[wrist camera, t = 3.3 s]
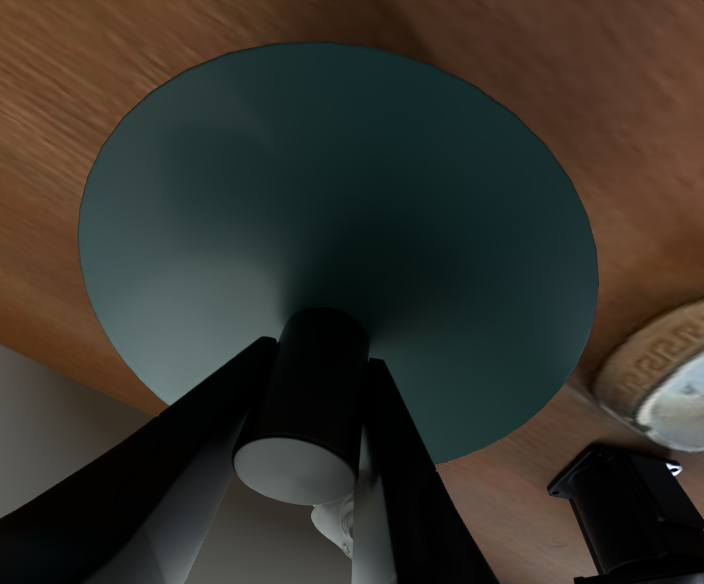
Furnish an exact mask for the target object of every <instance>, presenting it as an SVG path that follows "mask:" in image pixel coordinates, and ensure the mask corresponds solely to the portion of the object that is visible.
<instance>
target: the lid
mask: <svg viewBox="0 0 704 584" xmlns="http://www.w3.org/2000/svg"><path fill="white" fill-rule="evenodd" d="M78 246H79V257H80V266H81V270H82V275H83V279H84V283H85V287H86V291H87V294H88V296H89V299H90V301H91V304H92V306H93V309H94V311H95V314H96V316H97V318H98V320H99V322H100V324H101V326H102V328H103V329H104V331H105V333H106V335H107V337H108V338H109V340H110V342H111V343H112V345H113V346H114V347H115V349H116V350H117V352H118V353H119V354H120V356H121V357H122V359H123V360H124V361H125V363H126V364H127V365H128V366H129V367H130V368H131V369H132V371H133V372H134V373H135V374H136V375H137V376H138V378H139V379H140V380H141V381H142V382H143V383H144V384H145V385H146V386H147V387H149V388H150V389H151V390H152V391H153V392H154V393H155V394H156V395H157V396H158V397H159V398H160V399H162V400H163V401H164V402H165V403H167V404H168V405H169V406H170V405H172V404H173V403H174V402H176V401H177V400H178V399H180V398H181V397H182V396H183V395H185V394H186V393H187V392H189V391H190V390H191V389H193V388H194V387H195V386H197V385H198V384H199V383H201V382H202V381H203V380H204V379H206V378H207V377H208V376H210V375H211V374H212V373H214V372H215V371H216V370H218V369H219V368H220V367H221V366H223V365H224V364H225V363H227V362H228V361H229V360H231V359H232V358H233V357H235V356H236V355H237V354H238V353H240V352H241V351H242V350H244V349H245V348H246V347H248V346H249V345H250V344H252V343H253V342H254V341H255V340H257V339H258V338H259V337H261V336H268V337H273V338H275V339H276V340H277V345H276V347H275V350H274V352H273V355H272V357H271V359H270V362H269V364H268V367H267V369H266V371H265V374H264V376H263V379H262V381H261V383H260V386H259V388H258V391H257V393H256V395H255V398H254V400H253V403H252V405H251V407H250V410H249V412H248V415H247V417H246V419H245V422H244V424H243V427H242V429H241V431H240V434H239V436H238V439H237V441H236V443H235V446H234V448H233V451H232V456H231V462H232V467H233V469H234V471H235V472H236V474H237V476H238V477H239V478H240V479H241V480H242V481H243V482H244V483H245V484H247V485H248V486H249V487H251V488H252V489H254V490H256V491H257V492H259V493H261V494H263V495H266V496H268V497H271V498H273V499H277V500H280V501H284V502H288V503H295V504H302V505H320V504H327V503H332V502H335V501H338V500H341V499H343V498H345V497H346V496H348V495H349V494H350V493H351V492H352V491H353V490H354V488H355V486H356V484H357V481H358V475H359V463H360V452H361V440H362V428H363V417H364V403H365V391H366V380H367V368H368V361H369V359H370V358H377V359H382V360H384V361H385V363H386V365H387V367H388V369H389V371H390V373H391V375H392V377H393V379H394V381H395V384H396V386H397V388H398V390H399V392H400V394H401V396H402V398H403V400H404V402H405V405H406V407H407V409H408V411H409V413H410V415H411V417H412V419H413V421H414V423H415V426H416V428H417V430H418V432H419V434H420V436H421V438H422V440H423V442H424V444H425V446H426V449H427V451H428V453H429V455H430V457H431V459H432V461H433V463H434V465H435V464H440V463H443V462H446V461H450V460H453V459H456V458H459V457H462V456H465V455H467V454H470V453H472V452H475V451H477V450H479V449H482V448H484V447H486V446H488V445H490V444H492V443H494V442H496V441H497V440H499V439H501V438H503V437H505V436H506V435H508V434H509V433H511V432H512V431H514V430H515V429H517V428H518V427H520V426H521V425H523V424H524V423H526V422H527V421H528V420H529V419H530V418H531V417H533V416H534V415H535V414H536V413H537V412H538V411H540V410H541V409H542V408H543V407H544V406H545V405H546V404H547V403H548V402H549V401H550V399H551V398H552V397H553V396H554V395H555V394H556V393H557V392H558V391H559V390H560V388H561V387H562V386H563V384H564V383H565V381H566V380H567V378H568V377H569V375H570V374H571V372H572V371H573V369H574V368H575V367H576V365H577V362H578V360H579V358H580V356H581V354H582V352H583V350H584V348H585V346H586V344H587V342H588V338H589V335H590V331H591V328H592V324H593V321H594V317H595V314H596V305H597V296H598V287H599V277H598V264H597V250H596V246H595V242H594V238H593V234H592V230H591V227H590V223H589V219H588V215H587V213H586V211H585V209H584V207H583V204H582V202H581V200H580V198H579V196H578V194H577V192H576V189H575V187H574V185H573V183H572V181H571V179H570V178H569V176H568V175H567V173H566V172H565V171H564V169H563V168H562V166H561V165H560V164H559V162H558V161H557V159H556V158H555V157H554V155H553V154H552V152H551V151H550V150H549V148H548V147H547V145H546V144H545V143H544V142H543V141H542V140H541V139H540V138H539V137H538V136H537V135H536V134H535V133H534V132H533V131H532V130H531V129H530V128H529V127H528V126H527V125H526V124H525V123H524V122H523V121H521V120H520V119H519V118H518V117H517V116H516V115H515V114H514V113H513V112H512V111H510V110H509V109H507V108H506V107H505V106H503V105H502V104H500V103H499V102H498V101H496V100H495V99H493V98H492V97H490V96H489V95H488V94H486V93H485V92H483V91H482V90H481V89H479V88H478V87H476V86H475V85H473V84H471V83H469V82H467V81H465V80H463V79H461V78H459V77H457V76H454V75H452V74H450V73H448V72H446V71H444V70H442V69H440V68H438V67H436V66H434V65H432V64H430V63H427V62H424V61H420V60H417V59H414V58H410V57H407V56H404V55H400V54H397V53H394V52H390V51H387V50H384V49H380V48H375V47H367V46H360V45H352V44H345V43H337V42H329V41H317V42H287V43H273V44H268V45H263V46H258V47H253V48H248V49H244V50H239V51H234V52H229V53H226V54H224V55H221V56H219V57H216V58H214V59H211V60H209V61H206V62H204V63H201V64H198V65H196V66H193V67H191V68H188V69H186V70H185V71H183V72H181V73H180V74H178V75H177V76H175V77H173V78H172V79H170V80H169V81H167V82H165V83H164V84H162V85H161V86H159V87H157V88H156V89H154V90H153V91H151V92H150V93H149V94H148V95H147V96H146V97H145V98H144V99H142V100H141V101H140V102H139V103H138V104H137V105H136V106H135V107H134V108H133V109H132V110H131V111H130V112H128V113H127V114H126V115H125V116H124V117H123V118H122V120H121V121H120V122H119V124H118V125H117V126H116V128H115V129H114V131H113V132H112V133H111V135H110V136H109V137H108V139H107V140H106V142H105V143H104V144H103V146H102V147H101V149H100V151H99V154H98V156H97V158H96V160H95V162H94V164H93V167H92V169H91V171H90V173H89V175H88V177H87V181H86V185H85V189H84V193H83V197H82V201H81V205H80V211H79V225H78Z"/></svg>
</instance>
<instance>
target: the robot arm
mask: <svg viewBox="0 0 704 584" xmlns="http://www.w3.org/2000/svg"><path fill="white" fill-rule="evenodd" d="M276 345H277V340H276V339H275V338H273V337H268V336H261V337H259V338H258V339H257V340H255V341H254V342H253V343H252V344H250V345H249V346H248V347H246V348H245V349H244V350H242V351H241V352H240V353H238V354H237V355H236V356H235V357H233V358H232V359H231V360H229V361H228V362H227V363H225V364H224V365H223V366H221V367H220V368H219V369H218V370H216V371H215V372H214V373H212V374H211V375H210V376H208V377H207V378H206V379H204V380H203V381H202V382H201V383H199V384H198V385H197V386H195V387H194V388H193V389H191V390H190V391H189V392H187V393H186V394H185V395H183V396H182V397H181V398H180V399H178V400H177V401H176V402H174V403H173V404H172V405H170V406H169V407H168V408H166V409H165V410H164V411H163V412H161V413H160V414H159V417H158V416H156V417H154V418H153V419H152V420H151V421H149V422H148V423H147V424H146V425H144V426H143V427H141V428H140V429H139V430H137V431H136V432H135V433H133V434H132V435H130V436H129V437H128V438H126V439H125V440H124V441H122V442H121V443H119V444H118V445H116V446H115V447H113V448H112V449H110V450H109V451H107V452H106V453H104V454H103V455H101V456H100V457H98V458H97V459H95V460H94V461H92V462H91V463H89V464H88V465H86V466H84V467H83V468H81V469H80V470H78V471H77V472H75V473H74V474H72V475H70V476H69V477H67V478H66V479H64V480H63V481H61V482H60V483H58V484H56V485H55V486H53V487H52V488H50V489H48V490H47V491H45V492H44V493H42V494H41V495H39V496H37V497H36V498H34V499H33V500H32V501H30V502H28V503H27V504H25V505H23V506H22V507H20V508H18V509H17V510H15V511H13V512H12V513H9V514H7V515H6V516H4V517H2V518H0V584H184V582H185V580H186V577H187V576H188V573H189V571H190V569H191V566H192V564H193V562H194V560H195V558H196V555H197V553H198V551H199V549H200V547H201V544H202V542H203V540H204V538H205V535H206V533H207V531H208V529H209V526H210V524H211V522H212V520H213V517H214V515H215V513H216V511H217V509H218V506H219V504H220V502H221V500H222V497H223V495H224V493H225V491H226V488H227V486H228V484H229V482H230V480H231V477H232V475H233V473H234V469H233V467H232V462H231V456H232V451H233V448H234V446H235V443H236V441H237V439H238V436H239V434H240V431H241V429H242V427H243V424H244V422H245V419H246V417H247V415H248V412H249V410H250V407H251V405H252V403H253V400H254V398H255V395H256V393H257V391H258V388H259V386H260V383H261V381H262V379H263V376H264V374H265V371H266V369H267V367H268V364H269V362H270V359H271V357H272V355H273V352H274V350H275V347H276ZM682 470H683V468H682V467H681V465H680V464H679V462H678V461H675V460H670V459H665V458H660V457H655V456H650V455H645V454H640V453H635V452H630V451H625V450H620V449H615V448H610V447H605V446H600V445H591V446H588V447H587V448H586V449H585V450H584V451H583V452H582V453H581V454H580V455H579V456H578V457H577V458H576V459H575V460H574V461H573V462H572V463H571V464H570V465H569V466H568V467H567V468H565V469H564V470H563V471H562V472H561V473H560V474H559V475H558V476H557V477H556V478H555V479H554V480H553V481H552V482H551V483H550V484H549V485H548V486H547V490H548V493H549V495H551V496H555V497H560V498H565V499H569V501H570V504H571V506H572V509H573V511H574V514H575V516H576V519H577V521H578V524H579V526H580V529H581V531H582V534H583V536H584V539H585V541H586V544H587V546H588V549H589V551H590V554H591V556H592V559H593V561H594V564H595V566H596V569H597V571H598V574H599V575H597V576H592V577H586V578H584V577H583V576H581V577H575V578H574V583H575V584H704V519H703V518H702V517H701V515H700V514H699V512H698V511H697V509H696V508H695V506H694V505H693V503H692V502H691V500H690V499H689V497H688V496H687V494H686V493H685V491H684V490H683V488H682V487H681V486H680V484H679V483H678V481H677V480H676V478H675V477H674V476H675V475H677V474H678V473H680V472H681V471H682ZM435 471H436V467H435V465H434V463H433V461H432V459H431V457H430V455H429V453H428V451H427V449H426V446H425V444H424V442H423V440H422V438H421V436H420V434H419V432H418V430H417V428H416V426H415V423H414V421H413V419H412V417H411V415H410V413H409V411H408V409H407V407H406V405H405V402H404V400H403V398H402V396H401V394H400V392H399V390H398V388H397V386H396V384H395V381H394V379H393V377H392V375H391V373H390V371H389V369H388V367H387V365H386V363H385V361H384V360H382V359H377V358H370V359H369V361H368V368H367V380H366V391H365V403H364V417H363V428H362V440H361V452H360V463H359V475H358V481H357V484H356V486H355V488H354V509H353V555H352V584H500V583H499V581H498V579H497V578H496V576H495V574H494V573H493V571H492V569H491V568H490V566H489V564H488V563H487V561H486V559H485V558H484V556H483V554H482V553H481V551H480V549H479V548H478V546H477V544H476V543H475V541H474V539H473V538H472V536H471V534H470V532H469V531H468V529H467V527H466V525H465V524H464V522H463V520H462V519H461V517H460V515H459V513H458V512H457V510H456V508H455V506H454V504H453V502H452V500H451V498H450V496H449V494H448V492H447V490H446V488H445V486H444V484H443V482H442V480H441V478H440V476H439V473H438V472H437V471H436V472H435Z"/></svg>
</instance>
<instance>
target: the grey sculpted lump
mask: <svg viewBox="0 0 704 584" xmlns="http://www.w3.org/2000/svg"><path fill="white" fill-rule="evenodd" d="M313 506H314V507H315V508H314V510H313V512H312V514H311V517H312V521H313V522H314V525H315V526H316V528H318V530H319V531H320V532H321V533H323V534H324V535H325V536H326V537H327V538H329V539H330V540H331V541H333V542H334V543H336V545H338V546H339V547H340V548H341V549H342V550H343V551H344V553H345V554H346V555H347V556H348V557H350V558H351V559H352V555H353V509H354V490H353V491H352V492H351V493H350V494H349V495H348V496H346V497H345V498H343V499H341V500H338V501H335V502H332V503H327V504H320V505H313Z"/></svg>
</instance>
